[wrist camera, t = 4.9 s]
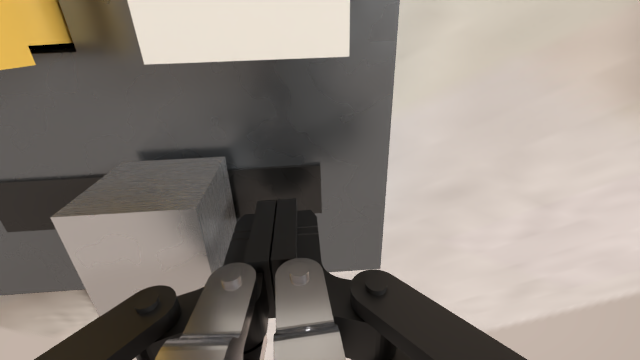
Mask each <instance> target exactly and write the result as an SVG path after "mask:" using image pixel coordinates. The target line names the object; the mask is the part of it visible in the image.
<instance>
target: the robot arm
mask: <svg viewBox="0 0 640 360" xmlns="http://www.w3.org/2000/svg"><path fill="white" fill-rule="evenodd" d="M268 318H276V333H275V334H274V360H346V358H350V359H351V360H527V359H525V358H524V357H522V356H521V355H519V354H517V353H516V352H514V351H513V350H511V349H510V348H508V347H506V346H504V345H503V344H502V343H500V342H498V341H497V340H495V339H494V338H492V337H490V336H489V335H487V334H486V333H484V332H482V331H481V330H479V329H478V328H476V327H474V326H473V325H471V324H470V323H468V322H466V321H465V320H463V319H462V318H460V317H458V316H457V315H455V314H454V313H452V312H450V311H449V310H447V309H446V308H444V307H442V306H441V305H439V304H438V303H436V302H434V301H433V300H431V299H430V298H428V297H426V296H425V295H423V294H422V293H420V292H418V291H417V290H415V289H414V288H412V287H410V286H409V285H407V284H406V283H404V282H402V281H401V280H399V279H398V278H396V277H394V276H393V275H391V274H389V273H387V272H385V271H381V270H366V271H363V272H360V273H359V274H357V275H356V276H355V277H354V278H353V279H352V280H347V279H342V278H338V277H335V276H333V275H331V274H330V273H328V272H327V271H326V270H325V269H324V267H323V265H322V262H321V252H320V242H319V232H318V223H317V216H316V215H315V214H314V213H313V212H312V211H311V210H301V211H298V206H297V198H292V199H278V202H277V200H263V201H258V202H257V205H256V210H255V214H244V215H243V216H242V217H241V218H240V219H239V221H238V222H237V223H236V226H235V229H234V233H233V235H232V238H231V242H230V245H229V248H228V251H227V254H226V257H225V261H224V264H223V266H222V267H220V268H218V269H217V270H215V271H214V272H213V273H212V274H211V275H210V276H209V278H208V280H207V282H206V284H205V286H204V287H202V288H200V289H198V290H195V291H192V292H188V293H185V294H182V295H179V296H177V295H176V292H175V291H174V290H173V289H172V288H171V287H169V286H164V285H157V286H152V287H148V288H145V289H143V290H141V291H139V292H137V293H135V294H134V295H132V296H131V297H129V298H128V299H126V300H125V301H123V302H121V303H120V304H118V305H117V306H115V307H114V308H112V309H111V310H109V311H108V312H106V313H105V314H103V315H102V316H100V317H99V318H97V319H95V320H94V321H92V322H91V323H89V324H88V325H86V326H85V327H83V328H82V329H80V330H79V331H77V332H76V333H74V334H73V335H71V336H69V337H68V338H66V339H65V340H63V341H62V342H60V343H59V344H57V345H56V346H54V347H53V348H51V349H50V350H48V351H47V352H45V353H43V354H42V355H40V356H39V357H37V358H36V359H34V360H132V359H134V358H135V357H136V358H137V360H264V356H265V351H266V345H267V334H266V333H267V326H268ZM345 357H346V358H345Z"/></svg>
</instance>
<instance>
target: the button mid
mask: <svg viewBox="0 0 640 360" xmlns="http://www.w3.org/2000/svg"><path fill="white" fill-rule="evenodd" d="M63 43H73V40H72V37H71V35H70V32H69V29H68V26H67V23H66V20H65V17H64V15H63V12H62V9H61V6H60V3H59V0H0V70H5V69H12V68H19V67H26V66H33V65H36V64H35V62H34V59H33V57H32V54H31V52H30V49H29V47H28V46H33V45H48V44H63Z"/></svg>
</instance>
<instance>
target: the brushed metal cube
mask: <svg viewBox="0 0 640 360" xmlns="http://www.w3.org/2000/svg"><path fill="white" fill-rule="evenodd" d="M50 218H51V220H52V222H53V224H54V226H55V228H56V230H57V232H58V234H59V236H60V238H61V240H62V242H63V244H64V246H65V248H66V250H67V252H68V254H69V256H70V259H71V261H72V263H73V265H74V267H75V269H76V271H77V273H78V275H79V277H80V279H81V281H82V283H83V285H84V287H85V289H86V291H87V293H88V295H89V297H90V299H91V301H92V303H93V305H94V307H95V309H96V311H97V313H98V315H99V317H100V316H102V315H103V314H105V313H106V312H108V311H109V310H111V309H112V308H114V307H115V306H117V305H118V304H120V303H121V302H123V301H125V300H126V299H128V298H129V297H131V296H132V295H134V294H135V293H137V292H139V291H141V290H143V289H145V288H148V287H152V286H157V285H164V286H169V287H171V288H172V289H173V290H174V291H175V292H176V295H177V296H179V295H182V294H185V293H188V292H192V291H195V290H198V289H200V288H202V287H204V286H205V284H206V282H207V280H208V278H209V276H210V275H211V274H212V273H213V272H214V271H215V270H217V269H218V268H220V267H222V266H223V264H224V261H225V257H226V254H227V251H228V248H229V245H230V242H231V238H232V235H233V233H234V229H235V226H236V223H237V221H236V215H235V210H234V204H233V199H232V193H231V188H230V182H229V176H228V171H227V165H226V160H225V157H207V158H188V159H169V160H150V161H131V162H122V163H121V164H119V165H118V166H117V167H115V168H114V169H113V170H111V171H110V172H109V173H108V174H106V175H105V176H104V177H102V178H101V179H100V180H98V181H97V182H96V183H95V184H93V185H92V186H91V187H89V188H88V189H87V190H85V191H84V192H83V193H81V194H80V195H79V196H78V197H76V198H75V199H74V200H72V201H71V202H70V203H68V204H67V205H66V206H65V207H63V208H62V209H61V210H59V211H58V212H57V213H55V214H54V215H53V216H51V217H50Z"/></svg>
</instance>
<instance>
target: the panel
mask: <svg viewBox="0 0 640 360" xmlns="http://www.w3.org/2000/svg"><path fill="white" fill-rule="evenodd" d="M399 2H400V0H350V41H349V57H327V58H301V59H275V60H249V61H224V62H198V63H172V64H146V65H144V62H143V58H142V54H141V50H140V47H139V43H138V39H137V35H136V32H135V28H134V24H133V20H132V17H131V13H130V9H129V5H128V1H127V0H59V3H60V6H61V9H62V12H63V15H64V17H65V20H66V23H67V26H68V29H69V32H70V35H71V37H72V40H73V43H74V46H75V48H70V49H42V50H30V52H31V54H32V57H33V59H34V62H35V64H36V65H33V66H26V67H19V68H12V69H5V70H0V295H10V294H25V293H39V292H53V291H67V290H82V289H85V287H84V285H83V283H82V281H81V279H80V277H79V275H78V273H77V271H76V269H75V267H74V265H73V263H72V261H71V259H70V256H69V254H68V252H67V250H66V248H65V246H64V244H63V242H62V240H61V238H60V236H59V234H58V232H57V230H56V228H55V226H54V224H53V222H52V220H51V218H50V217H51V216H53V215H54V214H55V213H57V212H58V211H59V210H61V209H62V208H63V207H65V206H66V205H67V204H68V203H70V202H71V201H72V200H74V199H75V198H76V197H78V196H79V195H80V194H81V193H83V192H84V191H85V190H87V189H88V188H89V187H91V186H92V185H93V184H95V183H96V182H97V181H98V180H100V179H101V178H102V177H104V176H105V175H106V174H108V173H109V172H110V171H111V170H113V169H114V168H115V167H117V166H118V165H119V164H121V163H122V162H131V161H150V160H169V159H188V158H207V157H225V160H226V165H227V171H228V176H229V182H230V188H231V193H232V199H233V204H234V210H235V215H236V221H237V222H238V221H239V219H240V218H241V217H242V216H243V215H244V214H255V210H256V205H257V202H258V201H263V200H277V202H278V199H292V198H297V206H298V211H301V210H311V211H312V212H313V213H314V214H315V215H316V216H317V223H318V232H319V242H320V252H321V262H322V265H323V267H324V269H325V270H326V271H327V272H338V271H353V270H367V269H380V265H381V251H382V237H383V223H384V209H385V196H386V182H387V168H388V154H389V140H390V127H391V113H392V99H393V85H394V71H395V58H396V44H397V30H398V16H399Z"/></svg>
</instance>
